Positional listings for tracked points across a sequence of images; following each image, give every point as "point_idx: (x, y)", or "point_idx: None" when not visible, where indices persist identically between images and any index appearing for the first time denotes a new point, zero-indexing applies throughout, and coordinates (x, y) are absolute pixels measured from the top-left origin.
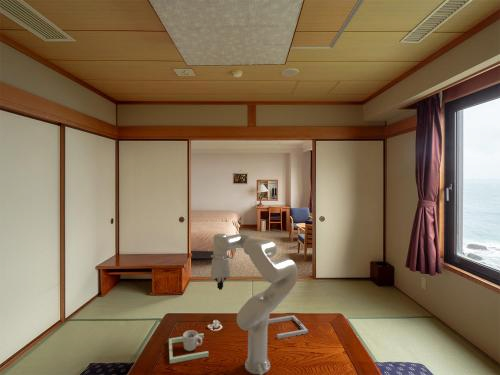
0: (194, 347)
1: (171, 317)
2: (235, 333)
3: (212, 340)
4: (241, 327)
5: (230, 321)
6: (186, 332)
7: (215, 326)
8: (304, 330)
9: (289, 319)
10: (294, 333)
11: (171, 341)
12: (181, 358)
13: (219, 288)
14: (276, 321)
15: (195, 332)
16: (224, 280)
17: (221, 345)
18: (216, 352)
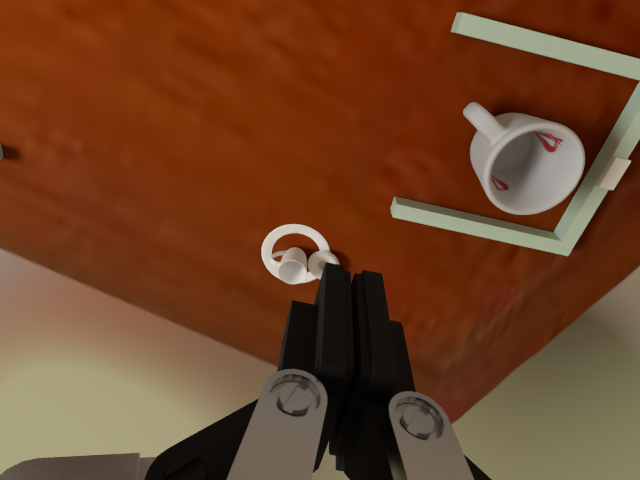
0: (500, 115)
1: (445, 410)
2: (219, 149)
3: (364, 151)
4: None
5: (203, 264)
6: (537, 205)
7: (300, 251)
8: None
9: None
10: None
11: (572, 227)
12: (615, 53)
13: (382, 288)
14: None
15: (490, 178)
16: (232, 414)
17: (341, 78)
18: (398, 25)
